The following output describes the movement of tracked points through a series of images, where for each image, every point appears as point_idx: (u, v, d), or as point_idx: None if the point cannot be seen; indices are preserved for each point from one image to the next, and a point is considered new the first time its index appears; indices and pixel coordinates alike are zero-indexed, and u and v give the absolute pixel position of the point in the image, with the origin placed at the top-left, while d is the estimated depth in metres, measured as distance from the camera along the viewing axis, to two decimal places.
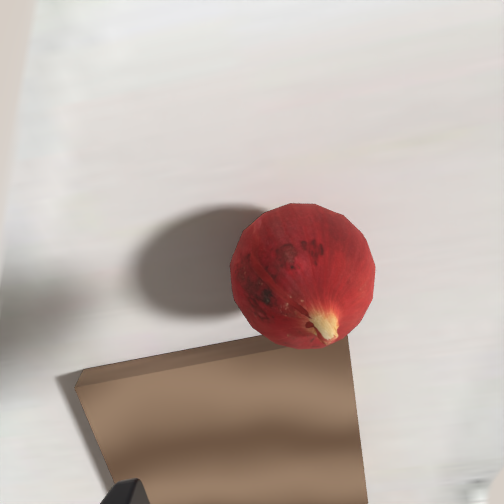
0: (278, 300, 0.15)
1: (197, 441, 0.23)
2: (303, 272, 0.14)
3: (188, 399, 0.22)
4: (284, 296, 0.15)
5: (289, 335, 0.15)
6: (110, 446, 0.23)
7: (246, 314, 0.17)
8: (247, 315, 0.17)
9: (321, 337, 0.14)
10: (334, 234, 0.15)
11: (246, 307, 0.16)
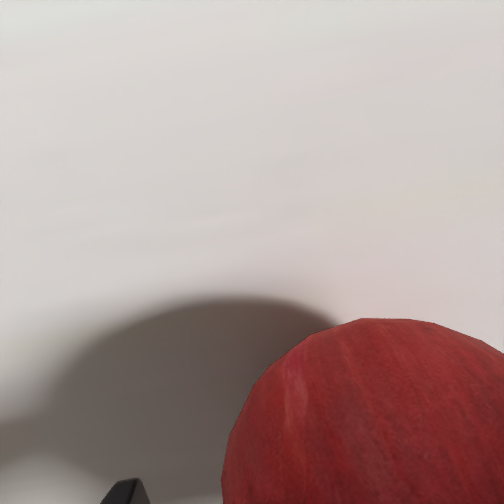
0: None
1: None
2: None
3: None
4: None
5: None
6: None
7: None
8: None
9: None
10: None
11: None
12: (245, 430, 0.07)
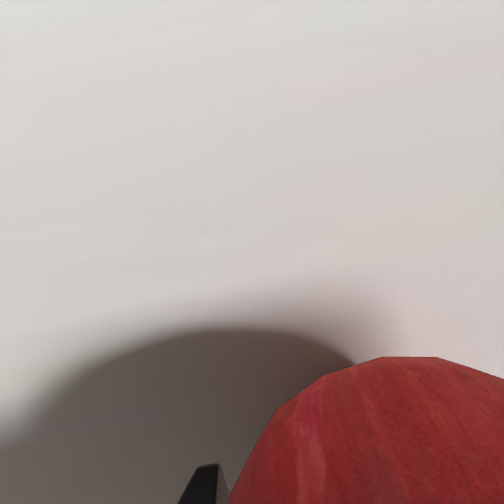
0: None
1: None
2: None
3: None
4: None
5: None
6: None
7: None
8: None
9: None
10: None
11: None
12: (249, 499, 0.06)
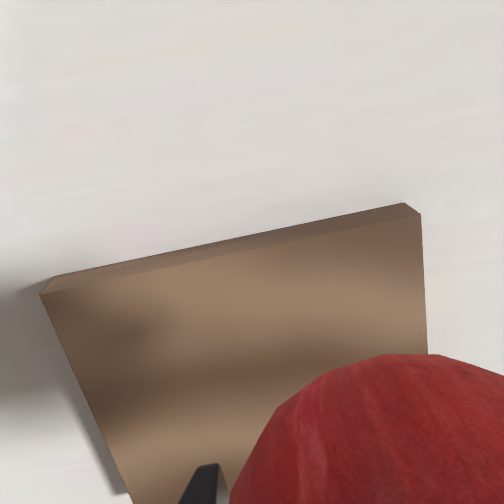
0: None
1: (211, 372, 0.17)
2: None
3: (198, 311, 0.16)
4: None
5: None
6: (93, 380, 0.17)
7: None
8: None
9: None
10: None
11: None
12: (250, 496, 0.05)
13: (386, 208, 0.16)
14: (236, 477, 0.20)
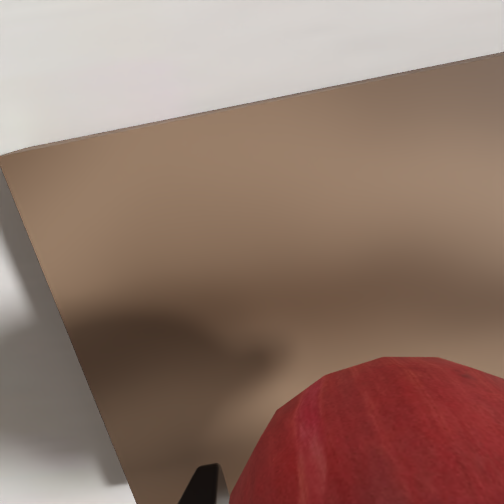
0: None
1: (255, 298, 0.12)
2: None
3: (242, 196, 0.11)
4: None
5: None
6: (79, 306, 0.11)
7: None
8: None
9: None
10: None
11: None
12: (250, 500, 0.05)
13: None
14: None
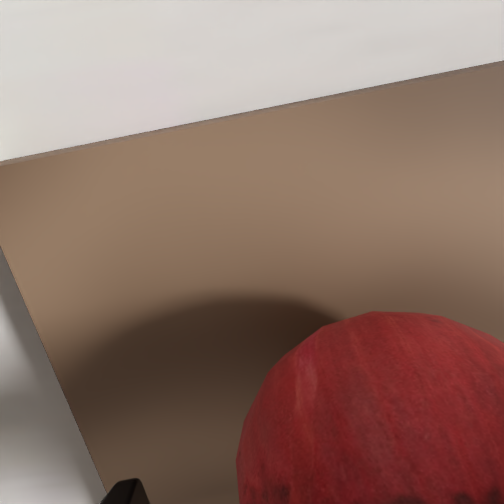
0: None
1: (260, 327, 0.10)
2: None
3: (246, 215, 0.09)
4: None
5: None
6: (65, 336, 0.10)
7: None
8: None
9: None
10: None
11: None
12: (258, 413, 0.07)
13: None
14: None
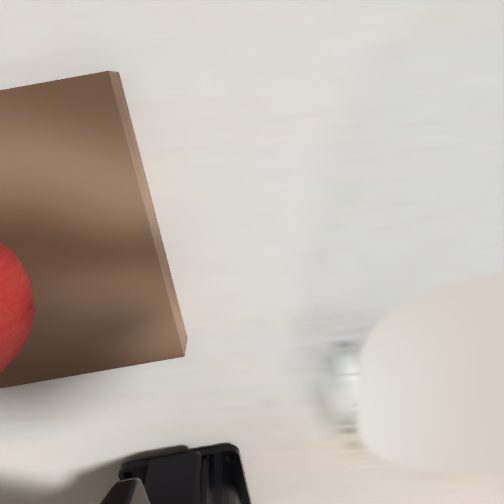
0: None
1: None
2: None
3: None
4: None
5: None
6: None
7: None
8: None
9: None
10: None
11: None
12: None
13: None
14: None
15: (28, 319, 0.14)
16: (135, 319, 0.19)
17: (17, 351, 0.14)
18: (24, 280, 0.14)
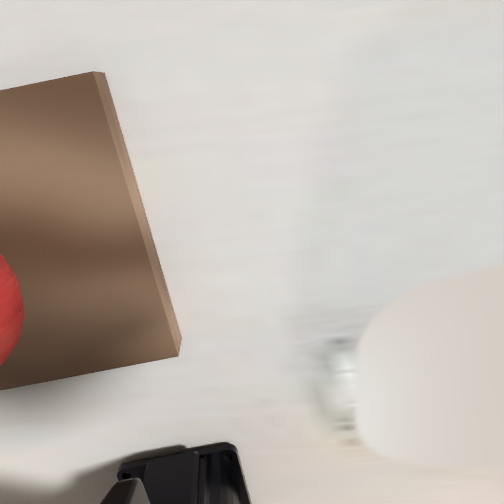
0: None
1: None
2: None
3: None
4: None
5: None
6: None
7: None
8: None
9: None
10: None
11: None
12: None
13: None
14: None
15: (17, 321, 0.14)
16: (128, 320, 0.19)
17: (6, 354, 0.14)
18: (12, 282, 0.14)
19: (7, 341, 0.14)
